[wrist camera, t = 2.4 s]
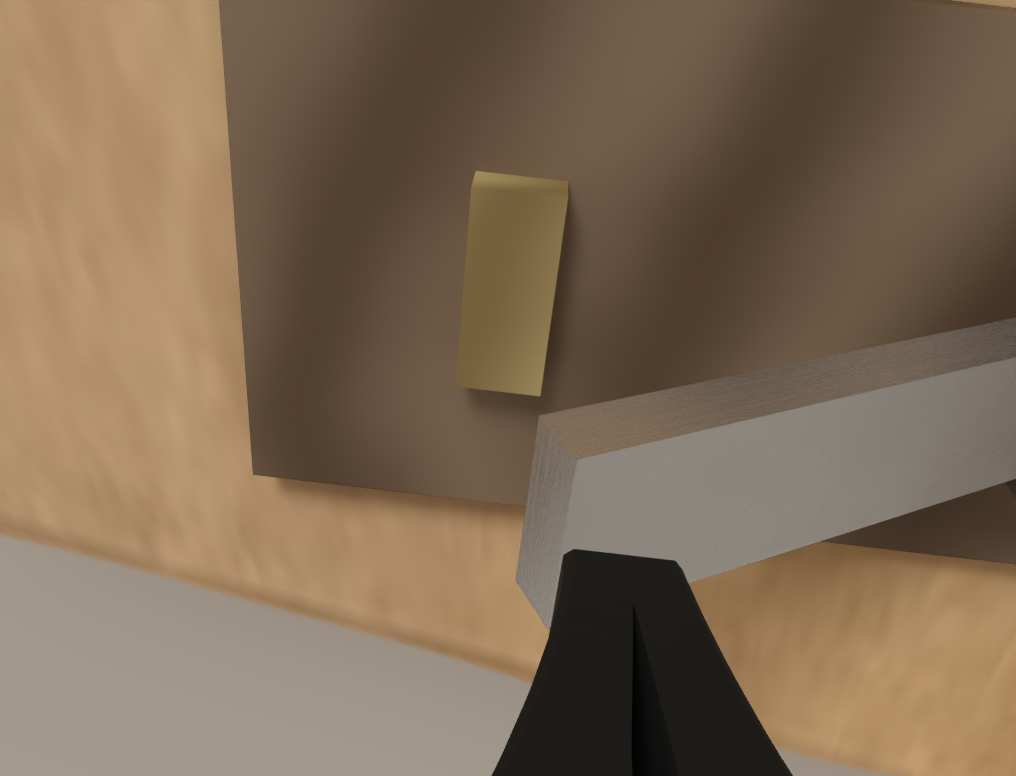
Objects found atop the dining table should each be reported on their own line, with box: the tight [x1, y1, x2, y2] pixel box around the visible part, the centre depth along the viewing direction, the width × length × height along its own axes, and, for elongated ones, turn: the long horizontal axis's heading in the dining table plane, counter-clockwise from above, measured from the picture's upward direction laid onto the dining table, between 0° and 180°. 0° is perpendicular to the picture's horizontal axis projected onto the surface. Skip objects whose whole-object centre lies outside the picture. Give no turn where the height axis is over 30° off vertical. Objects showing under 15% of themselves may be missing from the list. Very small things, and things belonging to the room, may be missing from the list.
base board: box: [219, 0, 1016, 564], centre depth 18 cm, size 20×12×4 cm, turn 84°
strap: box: [516, 318, 1016, 629], centre depth 15 cm, size 13×3×1 cm, turn 84°
